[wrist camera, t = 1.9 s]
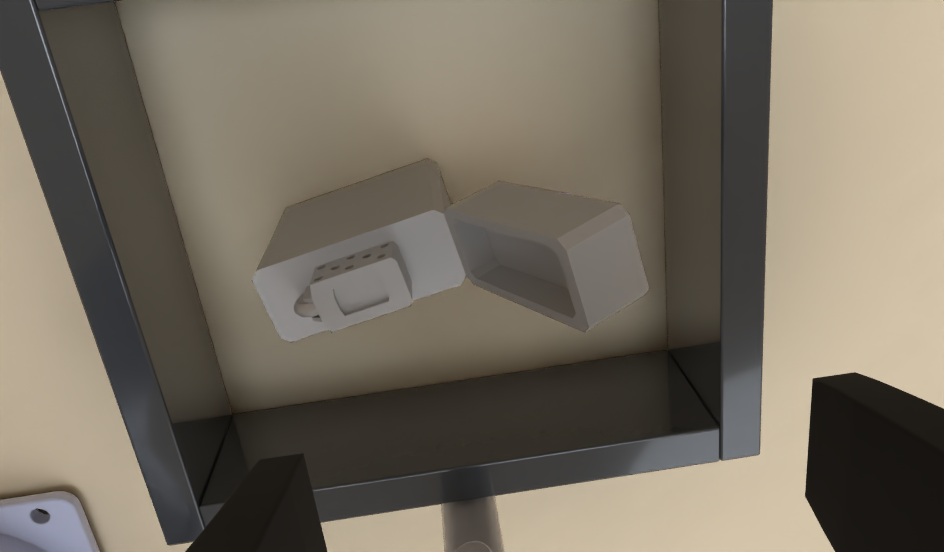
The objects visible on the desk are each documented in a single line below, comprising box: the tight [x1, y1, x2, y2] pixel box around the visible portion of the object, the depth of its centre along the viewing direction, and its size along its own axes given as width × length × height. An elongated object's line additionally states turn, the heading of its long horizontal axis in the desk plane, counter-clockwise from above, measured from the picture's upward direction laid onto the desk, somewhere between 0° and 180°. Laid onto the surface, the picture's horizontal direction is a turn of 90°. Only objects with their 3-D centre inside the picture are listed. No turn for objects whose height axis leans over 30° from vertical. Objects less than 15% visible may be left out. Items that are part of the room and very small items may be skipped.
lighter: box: [252, 159, 649, 342], centre depth 16 cm, size 7×2×8 cm, turn 108°
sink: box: [0, 0, 773, 552], centre depth 17 cm, size 14×15×7 cm
